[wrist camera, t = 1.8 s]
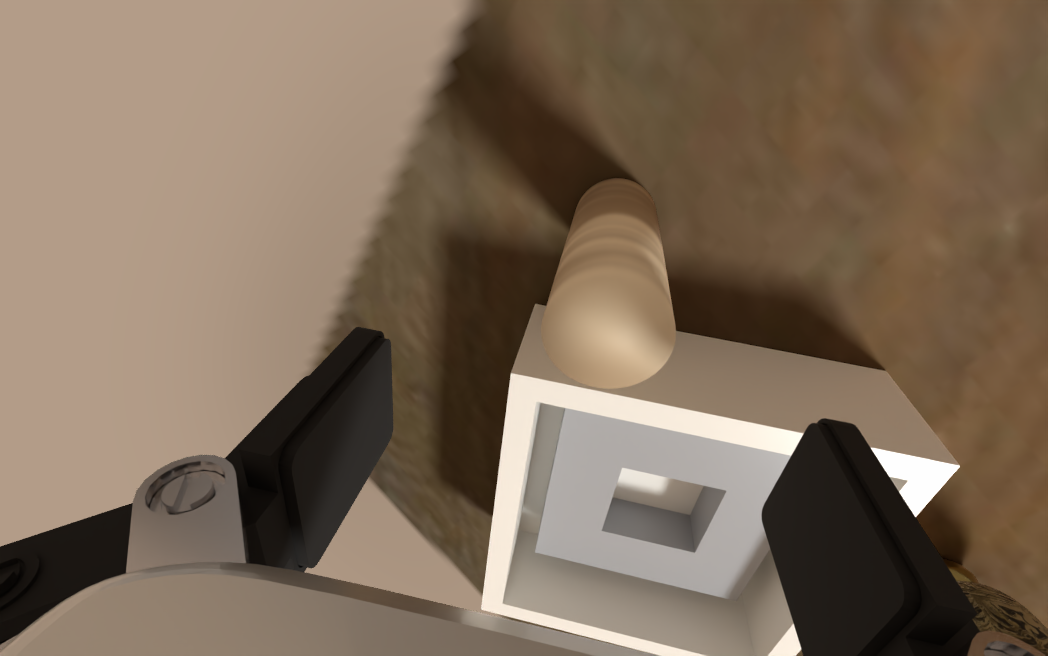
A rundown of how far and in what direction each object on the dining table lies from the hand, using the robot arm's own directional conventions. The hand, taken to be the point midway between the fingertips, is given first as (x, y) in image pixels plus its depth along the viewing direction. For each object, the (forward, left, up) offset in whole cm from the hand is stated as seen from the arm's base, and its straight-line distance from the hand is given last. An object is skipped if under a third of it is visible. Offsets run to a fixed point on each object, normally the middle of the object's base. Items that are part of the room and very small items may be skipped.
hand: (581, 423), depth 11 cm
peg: (-1, 0, -13) cm, 13 cm away
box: (+13, +6, -13) cm, 20 cm away
